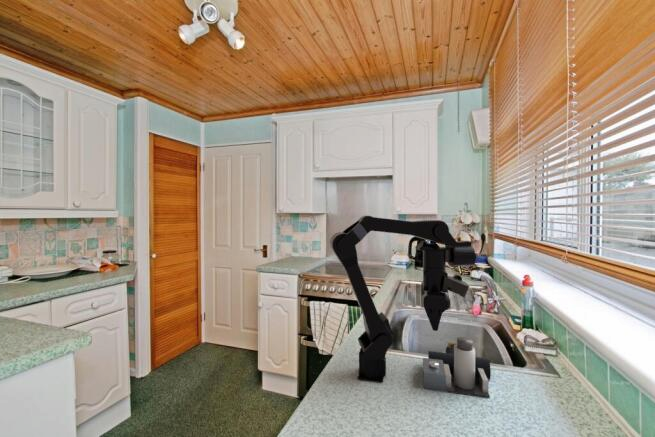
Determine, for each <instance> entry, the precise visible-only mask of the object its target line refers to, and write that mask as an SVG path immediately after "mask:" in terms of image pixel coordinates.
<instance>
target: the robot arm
mask: <svg viewBox="0 0 655 437" xmlns="http://www.w3.org/2000/svg"><path fill="white" fill-rule="evenodd" d="M370 232H380V233H389V234H399V235H407V236H413V237H415V238H419V239H423V240H421V241H420V242H419V243H418V244H417V245H415V247H414V248H415V250H418V251H422V281H421V282H420V291H421V295H422V306H423V309H424V311H425V314H426V317H427V319H428V320H429V323H430V326H431V329H432V331H434V332H437V331H438V330H439V327H440V323H441V320H442V319H441V318H442V315H443V313H444V312H445V311H448V310H449V309H450V308H451V298H450V296H449V295H448V294H447V293H449V292H452V293H454V294H457V295H458V296H460V297H462V298H466V296H467V293H468V291H469V288H470V285H469V284H468V283H467V282H466V281H463V277H462V276H461V275H459V274H457V273H455V274H454V275H453V276H450V275H448V272H447V270H446V269H447V268H446V263H447V264H448V265H449V266H450V267H472V266H474V265H475V264H476V261H477V254H476V252H475V248H474V246H472V241H470V240H461V241H456V239H455V238H454V236H453V234H451V232H450V228H449V225H448V224H447V222H446V221H444V220H439V219H422V220H421V219H420V220H412V221H411V220H403V219H402V220H401V219H392V218H384V217H382V218H381V217H375V216H371V215H363V216H361V217H360V218H359V219H357V220H356V221H355V222H354V223H352V224H351V225H349V226H348V227H347V228H345V229H344V230H342V232H341V231H339V232H336V233H333V235H331V237H330V240H329V246H330V248H331V250H332V252H333V254H335V256H336V258H337V259H338V261H339V263H340V265H341V266H342V267H343V269H344V271H345V274H346V276H347V278H348V282H349V284H350V287H351V289H352V291H353V294H354V296H355V299H356V300H357V303H358V306H359V308H360V310H361V313H362V318H363V324H364V325H363V326H364V332H362V334H361V335H360V336H358V338H357V341H358V343H359V346H360V349H359V351H358V352H359V353H358V374H357V379H358V380H361V381H368V382H374V383H375V382H376V383H383V382H384V379H385V377H386V374H387V357H386V355H387V353H388V350H389V349H390V347H392V345H393V342H394V338H393V337H394V336H393V335H395V332H394V331H393V330H392V328H391V326H390V321H389V320H390V319H389V318H388V317H387V316H386V315H385V313H384V312H383V311H381V312H380V313H379V312H378V310H377V307H376V305H375V302H374V300H373V297H372V295H371V293H370V290H369V287H368V285H367V283H366V280H365V278H364V274H363V273H362V270H361V268H360V265H359V260H358V251H357V247H356V246H357V244H359V243H361V241H362V240H363V239H364V238H365V237H367V235H368V234H369V233H370ZM424 240H425V241H424ZM426 241H431V242H434V243H427V242H426ZM440 245H444V246H440Z"/></svg>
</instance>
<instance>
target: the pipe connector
mask: <svg viewBox="0 0 655 437" xmlns="http://www.w3.org/2000/svg"><path fill="white" fill-rule="evenodd" d="M456 344H457V342H454V343H453V342H447V346H446V348H445V352H440V351H432V350H427V351H428V356H427V357H428V358H429V359H437V360H443V364H448V365H449V369H450V373H451V374H453V375H454V345H456ZM478 368H483V370H484V372H485V374H486V377H487V379H488V381H490V380H491V374H492V373H491V372H492V371H491V370H492V369H491V362H490V360H489V358H486V357H480V356H478V357H477V356H475V377H477V378H478Z"/></svg>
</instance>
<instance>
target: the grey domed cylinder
mask: <svg viewBox="0 0 655 437" xmlns="http://www.w3.org/2000/svg"><path fill="white" fill-rule="evenodd" d="M473 342H474V341H473V339H471V338H469V337H465V336H459V337H457V338H456V345H454V374H453V375H454V383H455V385H457V386H458V387H460V388H463V389H473V388H474V387H475V357H476V348H475V346H473V344H474V343H473Z"/></svg>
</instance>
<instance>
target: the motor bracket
mask: <svg viewBox="0 0 655 437" xmlns="http://www.w3.org/2000/svg"><path fill="white" fill-rule="evenodd" d="M422 377H423V378H422V380H423V389H424V390H430V391H436V392H444V393H449V394H450V393H451V394H459V395H466V396H472V397H480V398H484V399H485V398H487V399H490V398H491V395H490V393H489V380H488V379H487V377H486V374H485V372H484V370H483V368H478V378H477V377H475V387H474V388H473V389H463V388H460V387H458V386H457V385H455V383H454V374H451V373H450V369H449V365H448V364H443V360H437V359H429V358H427V357H422Z"/></svg>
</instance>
